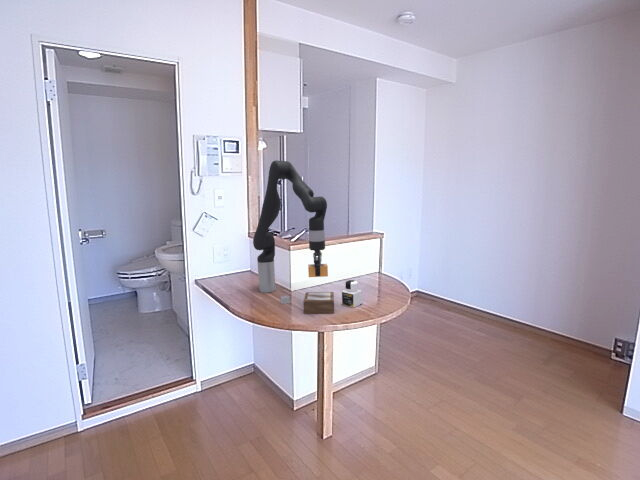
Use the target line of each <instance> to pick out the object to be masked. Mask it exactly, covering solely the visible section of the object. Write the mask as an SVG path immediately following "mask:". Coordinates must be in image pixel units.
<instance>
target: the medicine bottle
mask: <svg viewBox="0 0 640 480" xmlns="http://www.w3.org/2000/svg"><path fill="white" fill-rule="evenodd" d="M362 295H363V292H362V289H359V282H358V281H357V280H354V279H351V280H346V281H345V290H342V291H341V302H342V304H341V305H343V306H345V307H349V308H356V307H358V306H360V304H361V305H362V304H363V299H362V297H363V296H362Z"/></svg>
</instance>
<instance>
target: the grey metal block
mask: <svg viewBox="0 0 640 480" xmlns="http://www.w3.org/2000/svg"><path fill="white" fill-rule="evenodd" d="M290 299H291V298H290V296H289V295H283V296H280V303H281V305H286V304H287V303H288V304H291V300H290Z"/></svg>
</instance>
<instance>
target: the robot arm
mask: <svg viewBox="0 0 640 480" xmlns="http://www.w3.org/2000/svg"><path fill="white" fill-rule="evenodd" d="M279 180H288V181H289V182H291V183H292V190H293V193H294V194H295V195H296V196H297V197H298V198H299V200H300V201H301V203H302V205H303V207H304V210H305V211H307V212H308V213H312V214H313V213H315V214H314V216H312V217H310V218H309V219H308V244H309V245H308V247H309V250H310V251H314V252H313V253H312V254H313V255H312V257H313V264H314V265H315V266H314V267H315V275H316V276H320V264H322V256H323V254H322V252H321V251H324V250H325V249H326V236H325V235H326V234H325V219H326V218H325V217H326V214H327V213H326V212H327V208H328V203H327V200H326V198H325V197H324V196H315V194H314V191H313V189H311V187H310V186H308V184H307V183H306V182H305V181H304V180H303V179H302V177H301V176H300V173H298V171H297V170H296V169H295V167H294V165H293V164H292V163H291V162H290V161H288V160H276V159H275V160H273V161H272V162H271V163H270V167H269V169H268V177H267V185H266V191H265V195H264V199H263V202H262V206H261V211H260V212H261V213H260V217H259V219H258V223H257V227H256V228H255V233H254V235H253V239H252V245H253V247H254V249H255V250H257V251H262V252H261V253H260V254H259V255H257V276H258V291H259V293H263V294H264V293H265V294H266V293H273V292H275V291H276V274H275V273H276V272H275V255H276V249H275V248H276V242H275V240H276V239H275V237H274V235H273V233H272V232H270V231H269V229H270V227H271V226H272V224H273V223H274V222H275V221H276V219H277V218H278V217H279V216H278V215H279V213H280V211H281V205H282V201H281V198H280V194H279V191H278V183H279ZM316 264H319V265H316Z"/></svg>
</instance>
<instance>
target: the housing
mask: <svg viewBox="0 0 640 480" xmlns="http://www.w3.org/2000/svg"><path fill="white" fill-rule="evenodd" d="M316 265H319V264H316ZM314 266H315V265H314V263H312V264H308V265H307V268H308V270H307V271H308V278H319V277H320V278H322V277H329V274H328V273H329V271H328V270H329V269H328V264H327V263H321V264H320V276H316V275H315V267H314Z"/></svg>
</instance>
